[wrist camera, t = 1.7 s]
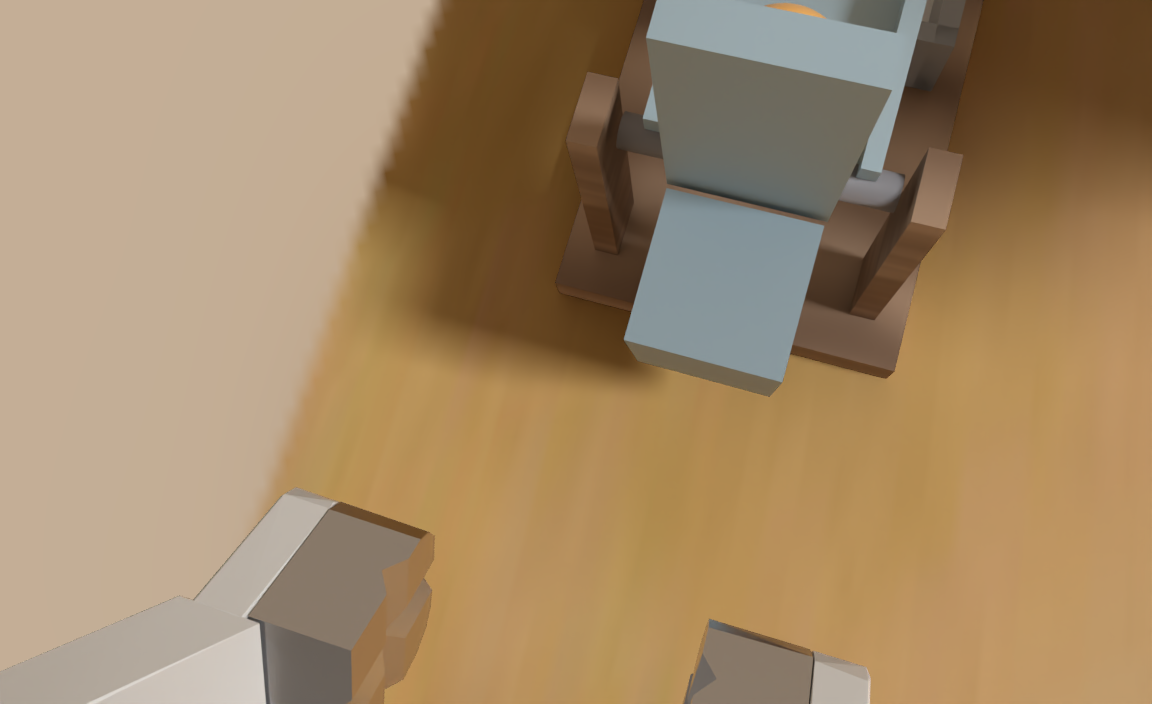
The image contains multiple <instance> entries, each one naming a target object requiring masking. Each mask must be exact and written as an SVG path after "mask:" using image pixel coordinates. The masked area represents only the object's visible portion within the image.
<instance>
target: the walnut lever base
mask: <svg viewBox="0 0 1152 704" xmlns="http://www.w3.org/2000/svg"><path fill="white" fill-rule="evenodd" d="M656 1H657V0H644V2H643V5H642V8H641V11H640V14H639V17H638V21H637V24H636V27H635V30H634V33H633V37H632V40H631V43H630V46H629V49H628V52H627V56H626V59H625V62H624V65H623V68H622V72H621V75H620V78H619V81H618V78H614V77H610V76H605V75H601V74H596V73H592V72H587V75H586V78H585V81H584V84H583V88H582V91H581V94H580V97H579V100H578V103H577V106H576V109H575V112H574V116H573V119H572V122H571V125H570V128H569V131H568V134H567V137H566V144H567V148H568V151H569V155H570V159H571V162H572V166H573V170H574V174H575V177H576V181H577V185H578V188H579V192H580V196H581V202H580V205H579V208H578V212H577V215H576V218H575V221H574V224H573V228H572V231H571V234H570V237H569V240H568V243H567V247H566V250H565V253H564V256H563V259H562V263H561V266H560V269H559V272H558V275H557V279H556V282H555V283H556V286H557V288H558V290H559V292H560V293H562V294H566V295H570V296H574V297H578V298H581V299H585V300H589V301H593V302H597V303H600V304H604V305H608V306H612V307H616V308H619V309H623V310H627V311H631V312H632V309H633V305H634V302H635V298H636V294H637V291H638V287H639V284H640V280H641V277H642V273H643V270H644V266H645V263H646V259H647V256H648V252H649V248H650V245H651V241H652V238H653V234H654V231H655V227H656V224H657V220H658V217H659V213H660V210H661V206H662V203H663V199H664V195H665V192H666V188H669V189H673V190H677V191H681V192H686V193H690V194H694V195H698V196H702V197H706V198H711V199H715V200H719V201H723V202H727V203H732V204H736V205H740V206H744V207H748V208H752V209H757V210H761V211H765V212H769V213H773V214H777V215H782V216H786V217H790V218H794V219H798V220H803V221H807V222H811V223H815V224H819V225H823V226H824V229H823V233H822V236H821V240H820V244H819V247H818V251H817V255H816V259H815V262H814V266H813V270H812V273H811V277H810V281H809V285H808V288H807V292H806V296H805V300H804V303H803V307H802V311H801V314H800V318H799V322H798V326H797V329H796V333H795V337H794V341H793V344H792V348H791V352H790V353H791V354H795V355H798V356H802V357H806V358H810V359H814V360H817V361H821V362H825V363H829V364H833V365H836V366H840V367H844V368H848V369H852V370H855V371H859V372H863V373H867V374H871V375H874V376H878V377H882V378H888V377H889V376H890V375H891V374H892V373H893V372H894V371H895V367H896V362H897V358H898V354H899V350H900V346H901V342H902V337H903V333H904V329H905V325H906V321H907V317H908V312H909V308H910V304H911V300H912V296H913V292H914V287H915V283H916V279H917V275H918V271H919V267H920V263H921V261H922V259H923V258H924V257H925V256H926V254H927V253H928V252H929V250H930V249H931V248H932V247H933V245H934V244H935V243H936V242H937V240H938V239H939V238H940V237H941V235H942V234H943V233H944V231H945V230H946V227H947V223H948V219H949V214H950V210H951V206H952V202H953V197H954V193H955V189H956V185H957V181H958V176H959V172H960V168H961V164H962V159H963V155H962V154H957V153H953V152H948V151H947V150H948V146H949V142H950V138H951V134H952V129H953V125H954V121H955V117H956V113H957V109H958V105H959V100H960V96H961V92H962V88H963V84H964V80H965V75H966V71H967V67H968V63H969V59H970V55H971V50H972V46H973V42H974V38H975V34H976V30H977V26H978V21H979V17H980V13H981V9H982V5H983V1H984V0H966V2H965V6H964V10H963V14H962V18H961V22H960V26H959V30H958V34H957V38H956V43H955V47H954V49H953V51H952V52H951V54H950V56H949V58H948V60H947V62H946V64H945V66H944V68H943V70H942V71H941V73H940V75H939V77H938V79H937V81H936V83H935V85H934V87H933V89H932V90H931V91H926V90H921V89H917V88H912V87H907V86H904V89H903V93H902V97H901V101H900V104H899V108H898V112H897V116H896V119H895V123H894V127H893V131H892V135H891V138H890V142H889V146H888V150H887V153H886V157H885V161H884V165H883V170H888V171H892V172H896V173H901V174H905V181H904V186H903V189H902V193H901V196H900V199H899V202H898V205H897V207H896V210H895V212H894V213H890V212H886V211H882V210H877V209H873V208H869V207H864V206H860V205H856V204H852V203H847V202H843V201H839V200H838V202H837V204H836V206H835V208H834V210H833V212H832V214H831V216H830V218H829V220H828V222H825V221H821V220H816V219H812V218H808V217H804V216H800V215H795V214H791V213H787V212H783V211H779V210H775V209H770V208H766V207H762V206H758V205H754V204H749V203H745V202H741V201H737V200H733V199H728V198H724V197H720V196H716V195H712V194H707V193H703V192H699V191H695V190H691V189H686V188H682V187H678V186H674V185H670V184H667V181H666V174H665V167H664V160H663V159H660V158H655V157H651V156H647V155H643V154H638V153H634V152H630V151H625V150H621V149H617V147H616V141H617V134H618V129H619V125H620V121H621V118H622V116H623V114H624V112H625V111H628V112H632V113H637V114H641V115H644V112H645V108H646V105H647V101H648V98H649V94H650V91H651V88H652V77H651V70H650V63H649V56H648V49H647V42H646V36H647V32H648V29H649V25H650V22H651V18H652V15H653V11H654V8H655V4H656Z"/></svg>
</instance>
